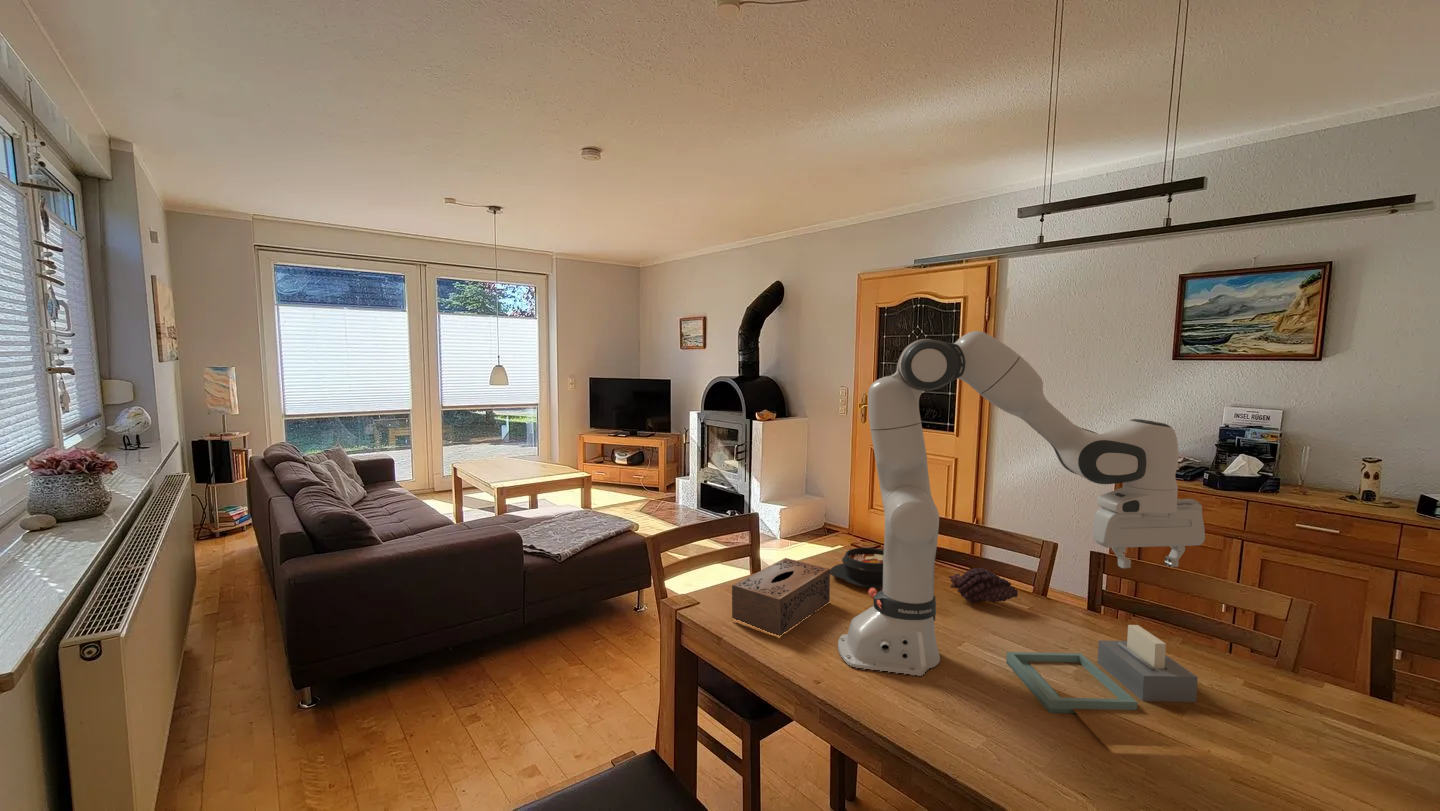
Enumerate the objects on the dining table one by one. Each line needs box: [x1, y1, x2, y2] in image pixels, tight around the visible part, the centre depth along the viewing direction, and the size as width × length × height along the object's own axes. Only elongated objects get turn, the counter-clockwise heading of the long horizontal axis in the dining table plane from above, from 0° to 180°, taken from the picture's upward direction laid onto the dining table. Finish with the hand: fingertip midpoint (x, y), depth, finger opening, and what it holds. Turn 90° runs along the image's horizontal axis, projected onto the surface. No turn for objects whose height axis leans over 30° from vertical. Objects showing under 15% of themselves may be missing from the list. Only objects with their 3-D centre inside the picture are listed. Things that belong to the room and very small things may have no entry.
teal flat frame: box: [1005, 651, 1138, 714], centre depth 116 cm, size 16×18×2 cm
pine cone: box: [948, 567, 1019, 604], centre depth 155 cm, size 18×10×10 cm, turn 56°
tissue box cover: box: [731, 557, 831, 636], centre depth 151 cm, size 26×14×10 cm, turn 141°
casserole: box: [829, 547, 884, 590], centre depth 172 cm, size 25×19×8 cm
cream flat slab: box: [1126, 624, 1167, 670], centre depth 116 cm, size 2×8×10 cm, turn 177°
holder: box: [1097, 640, 1199, 703], centre depth 116 cm, size 10×14×7 cm
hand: (1147, 566), depth 115 cm, fingers open, 8 cm apart
